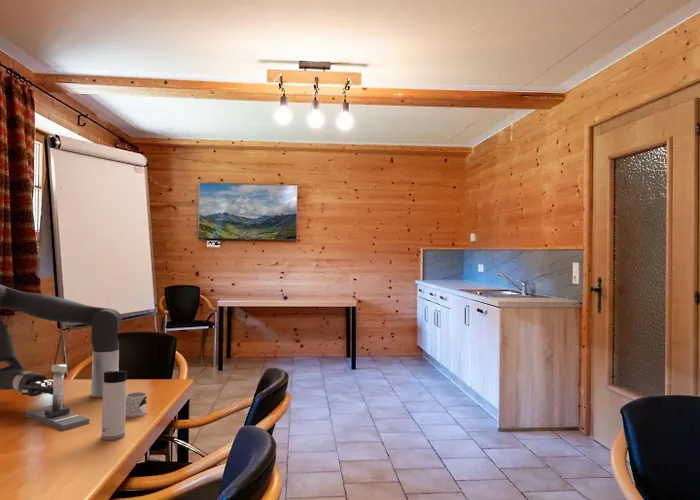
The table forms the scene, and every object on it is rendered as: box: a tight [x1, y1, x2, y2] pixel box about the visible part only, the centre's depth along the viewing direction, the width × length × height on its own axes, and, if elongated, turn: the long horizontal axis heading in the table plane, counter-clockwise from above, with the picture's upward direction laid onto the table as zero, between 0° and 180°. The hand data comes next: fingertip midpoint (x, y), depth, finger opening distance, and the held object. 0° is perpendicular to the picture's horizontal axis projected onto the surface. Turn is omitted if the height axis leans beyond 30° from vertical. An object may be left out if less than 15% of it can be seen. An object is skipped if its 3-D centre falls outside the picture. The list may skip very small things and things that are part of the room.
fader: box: [45, 363, 71, 418], centre depth 154 cm, size 4×6×16 cm
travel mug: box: [101, 369, 128, 441], centre depth 140 cm, size 6×7×20 cm
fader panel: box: [24, 405, 90, 431], centre depth 154 cm, size 24×8×2 cm, turn 59°
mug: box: [125, 391, 148, 418], centre depth 162 cm, size 10×7×7 cm
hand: (55, 391), depth 154 cm, fingers closed
